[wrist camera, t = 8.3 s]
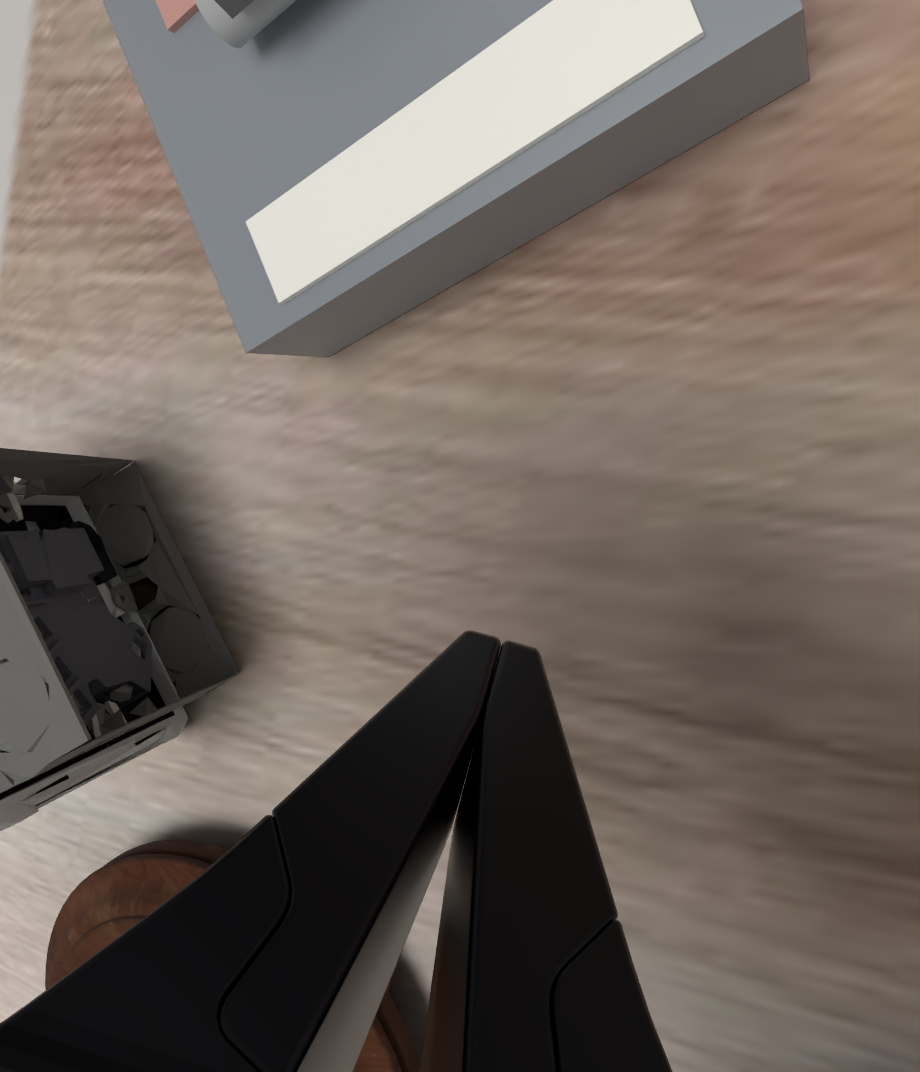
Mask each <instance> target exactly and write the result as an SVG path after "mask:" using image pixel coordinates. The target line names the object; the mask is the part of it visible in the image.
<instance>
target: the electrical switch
mask: <svg viewBox="0 0 920 1072" xmlns="http://www.w3.org/2000/svg"><path fill="white" fill-rule="evenodd" d="M133 461H134V460H123V459H112V458H101V457H91V456H80V455H69V454H58V453H48V452H37V451H26V450H16V449H5V448H0V831H1V830H4V829H6V828H8V827H10V826H12V825H14V824H17V823H19V822H21V821H22V820H24V819H26V818H27V817H29V816H31V815H33V814H34V813H36V812H38V811H39V810H38V808H40V807H42V806H44V805H46V804H48V803H50V802H52V801H54V800H56V799H57V798H59V797H61V796H63V795H65V794H67V793H69V792H71V791H73V790H75V789H77V788H78V787H80V786H82V785H84V784H86V783H88V782H90V781H92V780H94V779H96V778H97V777H99V776H101V775H103V774H105V773H107V772H109V771H111V770H113V769H115V768H117V767H118V766H120V765H122V764H124V763H126V762H128V761H130V760H132V759H134V758H136V757H138V756H139V755H141V754H144V753H146V752H147V751H149V750H151V749H153V748H155V747H157V746H159V745H161V744H163V743H165V742H167V741H169V740H172V739H174V738H176V737H177V736H178V735H180V734H181V733H182V731H183V729H184V727H185V724H186V722H187V720H188V716H187V714H186V712H185V710H184V708H183V705H185V704H187V703H189V702H191V701H194V700H196V699H198V698H200V697H202V696H203V695H204V694H205V693H207V692H209V691H210V690H212V689H214V688H216V687H217V686H219V685H221V684H222V683H224V682H226V681H228V680H229V679H231V678H233V677H234V676H236V675H234V674H236V673H237V672H239V671H238V668H237V666H236V664H235V662H234V660H233V658H232V656H231V654H230V652H229V650H228V648H227V646H226V644H225V642H224V640H223V638H222V636H221V634H220V632H219V630H218V628H217V626H216V624H215V622H214V620H213V618H212V616H211V614H210V612H209V610H208V608H207V606H206V604H205V602H204V600H203V598H202V596H201V594H200V592H199V590H198V588H197V586H196V584H195V582H194V580H193V578H192V576H191V574H190V572H189V570H188V568H187V566H186V564H185V562H184V560H183V558H182V556H181V554H180V552H179V550H178V548H177V546H176V544H175V542H174V540H173V538H172V536H171V534H170V532H169V530H168V528H167V526H166V524H165V522H164V520H163V518H162V516H161V515H160V513H159V511H158V509H157V507H156V505H155V503H154V501H153V499H152V497H151V495H150V493H149V491H148V489H147V487H146V485H145V483H144V481H143V479H142V477H141V475H140V473H139V471H138V469H137V467H136V465H135V464H132V465H130V466H128V467H127V468H125V469H123V470H121V471H119V470H120V469H122V468H123V467H125V466H127V465H128V464H130V463H131V462H133ZM82 464H84V465H82ZM117 471H119V472H118V473H116V472H117ZM114 473H116V474H114ZM113 474H114V475H113ZM111 475H112V476H111ZM14 476H15V477H18V478H21V480H20V481H19V482H18V483H14ZM108 477H109V478H108ZM110 504H115V505H113V506H111V507H110V508H108V507H109V506H110ZM85 505H87V506H89V507H90V508H91V509H90V510H89V512H88V513H87V511H86V509H85V507H84V506H85ZM140 508H141V509H140ZM142 509H144V510H146V512H147V513H146V512H145V511H143V510H142ZM96 525H97V526H96ZM95 527H96V529H95ZM153 533H154V536H155V539H156V541H155V543H154V537H153ZM149 552H150V553H149ZM148 553H149V555H148V557H147V559H146V561H144V562H142V563H141V564H139V565H137V566H133V567H129V568H125V569H124V568H123V567H121V566H120V565H123V566H124V565H127V564H129V563H132V562H134V561H137V560H139V559H141V558H144V557H145V556H146V555H147V554H148ZM119 564H120V565H119ZM146 577H148V578H149V579H150V580H152V581H153V582H154V583H155V584H156V585H157V589H158V590H157V595H156V599H154V600H153V601H152V602H150V603H149V604H148V605H146V606H145V607H144V608H142V609H141V610H140V611H138V608H137V606H136V603H135V600H134V597H133V595H132V592H131V589H130V587H129V584H130V583H133V582H135V581H138V580H141V579H143V578H146ZM167 606H173V607H176V608H168V609H167V610H165V611H164V612H163V613H162V614H160V615H159V616H158V617H157V618H155V619H154V620H153V621H152V622H151V625H150V633H149V635H148V633H147V629H148V626H149V624H150V621H151V619H152V618H153V617H154V616H155V614H156V613H157V612H158V611H159V610H160V609H162V608H165V607H167ZM143 614H144V615H143ZM196 614H197V615H199V617H200V619H199V617H198V616H197V615H196ZM144 616H145V617H144ZM145 618H146V619H145ZM199 661H200V662H199ZM198 662H199V663H198ZM174 673H177V674H174ZM232 675H234V676H232ZM237 675H238V674H237ZM230 676H232V677H230ZM174 681H175V683H176V687H177V691H178V692H177V691H176V689H175V687H174V685H173V683H172V682H174Z"/></svg>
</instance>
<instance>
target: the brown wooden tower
mask: <svg viewBox="0 0 920 1072" xmlns="http://www.w3.org/2000/svg"><path fill="white" fill-rule="evenodd" d="M227 851H228V849H225V848H222V847H218V846H214V845H210V844H207V843H201V842H194V841H187V840H167V841H157V842H152V843H148V844H144V845H140V846H138V847H135V848H133V849H131V850H128V851H126V852H124V853H123V854H121V855H119V856H118V857H116V858H114V859H113V860H111V861H110V862H109V863H107V864H106V865H104V866H103V867H102V868H100V869H98V870H97V871H95V872H94V873H92V874H91V875H89V876H88V877H87V878H86V879H85V880H83V881H82V882H81V883H80V884H79V885H78V886H77V887H76V889H75V890H74V891H73V892H72V893H71V894H70V896H69V897H68V899H67V900H66V902H65V903H64V905H63V907H62V909H61V911H60V913H59V915H58V917H57V919H56V922H55V925H54V928H53V931H52V934H51V938H50V942H49V947H48V952H47V961H46V978H45V986H46V990H47V989H49V988H50V987H51V986H53V985H54V984H55V983H57V982H58V981H60V980H61V979H62V978H64V977H65V976H66V975H68V974H69V973H70V972H72V971H73V970H74V969H76V968H77V967H79V966H80V965H81V964H83V963H84V962H85V961H87V960H88V959H89V958H91V957H92V956H93V955H95V954H96V953H98V952H99V951H100V950H102V949H103V948H104V947H106V946H107V945H108V944H110V943H111V942H112V941H114V940H115V939H117V938H118V937H119V936H121V935H122V934H123V933H125V932H126V931H127V930H129V929H130V928H131V927H133V926H134V925H136V924H137V923H138V922H140V921H141V920H142V919H144V918H145V917H146V916H148V915H149V914H150V913H152V912H153V911H154V910H156V909H157V908H158V907H159V906H161V905H162V904H163V903H165V902H166V901H167V900H168V899H170V898H171V897H172V896H174V895H175V894H176V893H178V892H179V891H180V890H181V889H183V888H184V887H185V886H187V885H188V884H189V883H190V882H192V881H193V880H194V879H196V878H197V877H198V876H199V875H200V874H202V873H203V872H204V871H205V870H206V869H207V868H208V867H210V866H211V865H212V864H213V863H214V862H215V861H217V860H218V859H219V858H220V857H221V856H222V855H223V854H225V853H226V852H227ZM395 970H396V966H395V969H394V971H393V973H392V976H391V978H390V981H389V983H388V986H387V988H386V991H385V993H384V996H383V998H382V1000H381V1003H380V1005H379V1008H378V1010H377V1013H376V1015H375V1018H374V1020H373V1022H372V1025H371V1027H370V1030H369V1032H368V1035H367V1037H366V1040H365V1042H364V1044H363V1047H362V1049H361V1052H360V1054H359V1057H358V1059H357V1062H356V1064H355V1066H354V1069H353V1071H352V1072H420V1065H421V1064H420V1061H419V1058H418V1055H417V1052H416V1049H415V1046H414V1044H413V1041H412V1039H411V1036H410V1034H409V1031H408V1029H407V1026H406V1024H405V1022H404V1020H403V1018H402V1016H401V1014H400V1012H399V1010H398V1008H397V1006H396V1004H395V1002H394V1001H393V999H392V997H391V995H390V994H389V989H390V987H391V984H392V982H393V979H394V976H395Z"/></svg>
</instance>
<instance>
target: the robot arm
mask: <svg viewBox="0 0 920 1072" xmlns="http://www.w3.org/2000/svg"><path fill="white" fill-rule="evenodd" d="M500 646H501V648H500ZM499 650H500V652H499ZM498 654H499V656H498ZM497 658H498V659H497ZM496 662H497V663H496ZM495 666H496V667H495ZM493 673H494V674H493ZM492 677H493V678H492ZM476 737H477V738H476ZM475 741H476V742H475ZM472 752H473V753H472ZM471 756H472V757H471ZM470 760H471V761H470ZM469 764H470V765H469ZM468 767H469V768H468ZM467 771H468V772H467ZM466 775H467V776H466ZM465 778H466V780H465ZM464 782H465V784H464ZM463 786H464V788H463ZM462 790H463V791H462ZM461 793H462V795H461ZM460 797H461V799H460ZM459 801H460V803H459ZM458 805H459V807H458ZM457 808H458V811H457ZM456 811H457V815H456ZM455 815H456V820H455V824H454V829H453V835H452V841H451V847H450V854H449V861H448V868H447V876H446V883H445V890H444V897H443V905H442V912H441V919H440V927H439V934H438V941H437V948H436V956H435V963H434V970H433V977H432V985H431V992H430V999H429V1007H428V1014H427V1021H426V1028H425V1036H424V1043H423V1050H422V1057H421V1065H420V1072H672V1069H671V1067H670V1064H669V1062H668V1059H667V1057H666V1054H665V1052H664V1049H663V1046H662V1044H661V1041H660V1039H659V1036H658V1034H657V1031H656V1029H655V1026H654V1024H653V1021H652V1019H651V1016H650V1013H649V1010H648V1007H647V1004H646V1001H645V998H644V995H643V992H642V989H641V986H640V983H639V980H638V977H637V974H636V971H635V968H634V965H633V962H632V958H631V955H630V952H629V948H628V945H627V942H626V938H625V935H624V932H623V928H622V925H621V923H620V922H619V921H617V920H616V919H617V916H618V913H617V909H616V906H615V903H614V899H613V896H612V893H611V889H610V886H609V883H608V879H607V876H606V873H605V869H604V866H603V863H602V859H601V856H600V853H599V849H598V846H597V843H596V839H595V836H594V833H593V829H592V826H591V823H590V819H589V816H588V813H587V809H586V806H585V802H584V799H583V796H582V792H581V789H580V786H579V782H578V779H577V776H576V772H575V769H574V766H573V762H572V759H571V756H570V752H569V749H568V746H567V742H566V739H565V736H564V732H563V729H562V726H561V722H560V719H559V716H558V712H557V709H556V705H555V702H554V699H553V695H552V692H551V689H550V685H549V682H548V679H547V675H546V672H545V669H544V665H543V662H542V659H541V656H540V653H539V651H538V650H537V649H536V648H533V647H530V646H526V645H522V644H519V643H515V642H512V641H505V642H504V643H502V645H501V642H500V640H499V639H498V638H497V637H493V636H490V635H486V634H483V633H479V632H475V631H471V630H469V631H466V632H464V633H463V634H462V635H460V636H459V637H458V638H457V639H456V640H455V641H454V642H453V643H452V644H451V645H450V646H449V647H448V648H446V649H445V650H444V651H443V652H442V653H441V654H440V655H439V656H438V657H437V658H436V659H435V660H434V661H433V662H431V663H430V664H429V665H428V666H427V667H426V668H425V669H424V670H423V671H422V672H421V673H420V674H419V675H417V676H416V677H415V678H414V679H413V680H412V681H411V682H410V683H409V684H408V685H407V686H406V687H405V688H403V689H402V690H401V691H400V692H399V693H398V694H397V695H396V696H395V697H394V698H393V699H392V700H391V701H389V702H388V703H387V704H386V705H385V706H384V707H383V708H382V709H381V710H380V711H379V712H378V713H377V714H375V715H374V716H373V717H372V718H371V719H370V720H369V721H368V722H367V723H366V724H365V725H364V726H363V727H362V728H360V729H359V730H358V731H357V732H356V733H355V734H354V735H353V736H352V737H351V738H350V739H349V740H348V741H346V742H345V743H344V744H343V745H342V746H341V747H340V748H339V749H338V750H337V751H336V752H335V753H334V754H332V755H331V756H330V757H329V758H328V759H327V760H326V761H325V762H324V763H323V764H322V765H321V766H320V767H318V768H317V769H316V770H315V771H314V772H313V773H312V774H311V775H310V776H309V777H308V778H307V779H306V780H304V781H303V782H302V783H301V784H300V785H299V786H298V787H297V788H296V789H295V790H294V791H293V792H292V793H291V794H289V795H288V796H287V797H286V798H285V799H284V800H283V801H282V802H281V803H280V804H279V805H278V806H277V807H275V808H274V809H273V811H272V816H271V815H267V816H265V817H264V818H263V819H262V820H261V821H260V822H259V823H258V824H257V825H256V826H255V827H253V828H252V829H251V830H250V831H249V832H248V833H247V834H246V835H245V836H244V837H243V838H242V839H241V840H239V841H238V842H237V843H236V844H235V845H234V846H233V847H231V848H230V849H229V850H228V851H227V852H226V853H225V854H223V855H222V856H221V857H220V858H219V859H218V860H217V861H215V862H214V863H213V864H212V865H211V866H210V867H208V868H207V869H206V870H205V871H204V872H203V873H202V874H200V875H199V876H198V877H197V878H196V879H194V880H193V881H192V882H190V883H189V884H188V885H187V886H185V887H184V888H183V889H181V890H180V891H179V892H178V893H176V894H175V895H174V896H172V897H171V898H170V899H168V900H167V901H166V902H165V903H163V904H162V905H161V906H159V907H158V908H157V909H156V910H154V911H153V912H152V913H150V914H149V915H148V916H146V917H145V918H144V919H142V920H141V921H140V922H138V923H137V924H136V925H134V926H133V927H131V928H130V929H129V930H127V931H126V932H125V933H123V934H122V935H121V936H119V937H118V938H117V939H115V940H114V941H112V942H111V943H110V944H108V945H107V946H106V947H104V948H103V949H102V950H100V951H99V952H98V953H96V954H95V955H93V956H92V957H91V958H89V959H88V960H87V961H85V962H84V963H83V964H81V965H80V966H79V967H77V968H76V969H74V970H73V971H72V972H70V973H69V974H68V975H66V976H65V977H64V978H62V979H61V980H60V981H58V982H57V983H55V984H54V985H53V986H51V987H50V988H49V989H47V990H46V991H45V992H43V993H42V994H41V995H39V996H38V997H36V998H35V999H34V1000H32V1001H31V1002H30V1003H28V1004H27V1005H26V1006H24V1007H23V1008H21V1009H20V1010H19V1011H17V1012H16V1013H14V1014H13V1015H11V1016H10V1017H9V1018H7V1019H6V1020H4V1021H3V1022H2V1023H0V1072H352V1071H353V1069H354V1066H355V1064H356V1062H357V1059H358V1057H359V1054H360V1052H361V1049H362V1047H363V1044H364V1042H365V1040H366V1037H367V1035H368V1032H369V1030H370V1027H371V1025H372V1022H373V1020H374V1018H375V1015H376V1013H377V1010H378V1008H379V1005H380V1003H381V1000H382V998H383V996H384V993H385V991H386V988H387V986H388V983H389V981H390V978H391V976H392V973H393V971H394V969H395V966H396V964H397V961H398V959H399V956H400V954H401V951H402V949H403V947H404V944H405V942H406V939H407V937H408V934H409V932H410V929H411V927H412V925H413V922H414V920H415V917H416V915H417V912H418V910H419V907H420V905H421V903H422V900H423V898H424V895H425V893H426V890H427V888H428V885H429V883H430V880H431V878H432V876H433V873H434V871H435V868H436V866H437V863H438V861H439V858H440V856H441V854H442V851H443V849H444V846H445V844H446V841H447V838H448V836H449V833H450V830H451V828H452V825H453V821H454V818H455Z"/></svg>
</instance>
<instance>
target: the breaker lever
mask: <svg viewBox="0 0 920 1072" xmlns="http://www.w3.org/2000/svg"><path fill="white" fill-rule="evenodd" d="M295 1H296V0H195V2H196V5H197V7H198V9H199V10H200V12H201V14H202V16H203V17H204V19H205V20H206V21H207V23H208V24H209V26H210V27H211V28H212V29H213V30H214V32H215V33H216V34H217V35H218V36H219V37H220V38H221V39H222V40H224V41H225V42H226V43H227V44H229V45H230V46H232V47H235V48H241V47H243V46H244V45H245V44H246V43H247V42H248V41H250V40H251V39H252V38H253V37H254V36H255V35H257V34H258V33H259V32H260V31H261V30H262V29H264V28H265V27H266V26H267V25H268V24H269V23H271V22H272V21H273V20H274V19H275V18H276V17H278V16H279V15H280V14H281V13H282V12H283V11H285V10H286V9H287V8H288V7H289V6H290V5H292V4H293V3H294V2H295Z"/></svg>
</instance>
